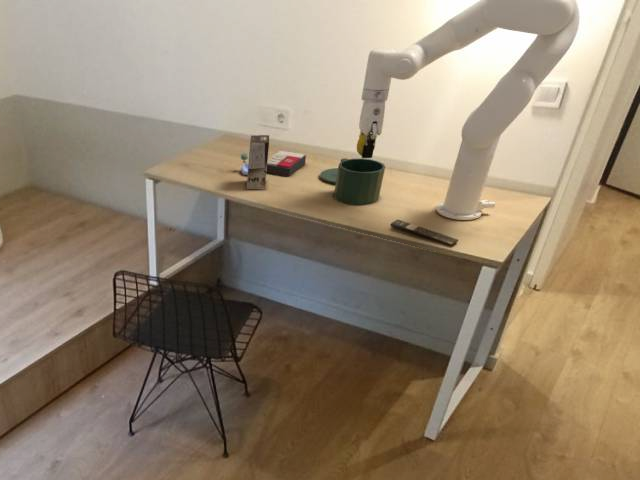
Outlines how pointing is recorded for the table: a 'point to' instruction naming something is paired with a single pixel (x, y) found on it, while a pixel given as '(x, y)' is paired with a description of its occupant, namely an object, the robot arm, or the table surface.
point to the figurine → (245, 167)
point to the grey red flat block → (285, 163)
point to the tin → (359, 181)
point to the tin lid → (330, 174)
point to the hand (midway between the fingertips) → (364, 154)
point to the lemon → (362, 143)
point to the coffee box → (258, 161)
